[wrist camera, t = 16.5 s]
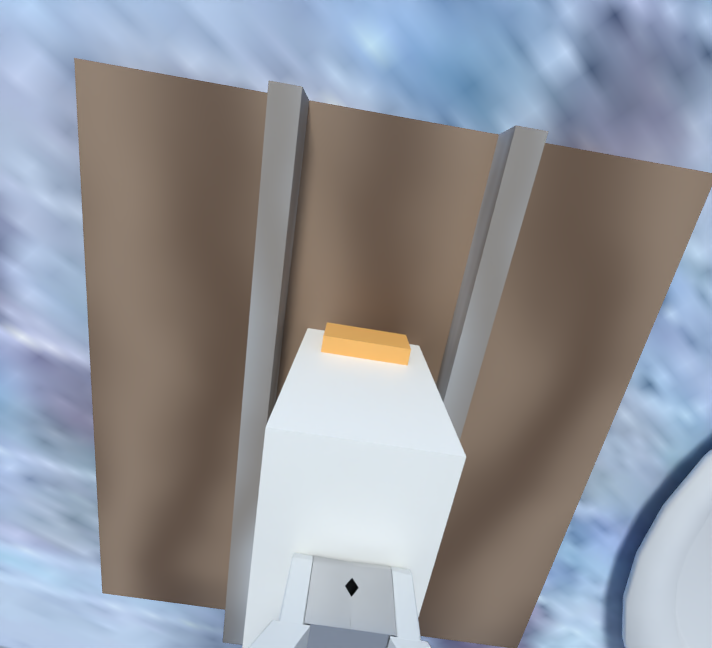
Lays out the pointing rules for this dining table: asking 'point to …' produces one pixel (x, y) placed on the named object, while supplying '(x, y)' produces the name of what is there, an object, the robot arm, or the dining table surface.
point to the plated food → (674, 571)
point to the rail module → (352, 464)
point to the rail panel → (353, 318)
